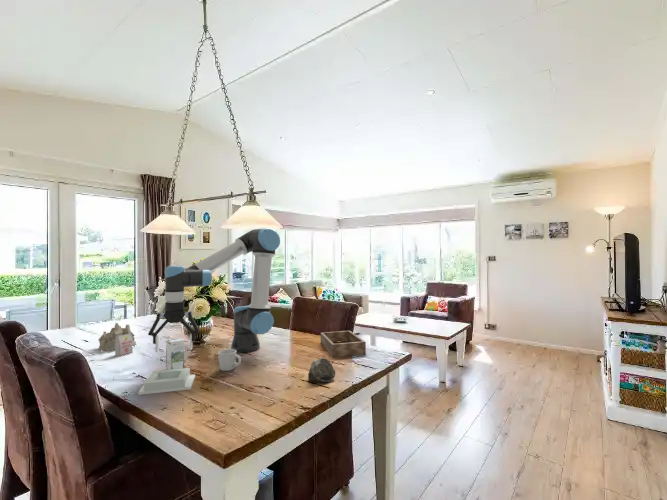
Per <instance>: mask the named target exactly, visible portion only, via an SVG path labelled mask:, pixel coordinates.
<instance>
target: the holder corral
mask: <svg viewBox="0 0 667 500" xmlns="http://www.w3.org/2000/svg"><path fill="white" fill-rule="evenodd" d="M337 341H345V342H338V343H333V342H337ZM320 344H321V345H322V346H324V347H325V348H324V347H323V348H324V349H325V350H326V352H328V354H329V355H330V356H331V357H333V358H334V357H343V356H345V357H346V356H354V355H355V356H356V355H366V354H367V351H366V350H367V349H366V347H367V346H366V341H365V340H364V339H362V338H361V337H359V336H358V335H357V334H356V333H354V332H353V331H351V330H342V331H341V330H340V331H327V332H326V331H325V332H320Z"/></svg>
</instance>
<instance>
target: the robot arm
mask: <svg viewBox="0 0 667 500" xmlns="http://www.w3.org/2000/svg"><path fill="white" fill-rule="evenodd" d="M280 245H281V238H280V234H279V233H278V232H277V231H276V230H275V229H274V228H270V227H263V228H256V229H251V230H249V231H247V232H246V233H244V234H242V235H241V236H239V237H237V238H236V239H235V240H234V241H233V242H232V243H231V244H229V245H227V246H225V247H223V248H221V249H219V250H218V251H216V252H214V253H213V254H210V255H208V256H207V257H205V258H203V259H201V260H199V261H198V262H196V263H194V264H192V265H191V266H189V267H187V268H185V266H184V265H169V266H166V267H165V273H164V274H165V276H164V280H165V282H164V285H165V288H164V289H165V290H164V291H165V292H164V301H165V303H164V313H163V312H157V313H156V319H155V320H154V322H153V324H152V326H151V328H150V329H149V331H148V334H147V335H148V336H151V337H152V344H153V345H155V353H158V352H159V351H160V335H158V334H159V333H160V332H161V331H162V330H163V328H164V327H165V326H166V325H167V324H168V323H170V324H178V323H180V324H181V325H183V326H184V328H185V329H186V330H187V331H188V332H189V333H190V334H189V350H190V351H192V349H193V343H194V342H195V340H196V334H199V332H200V328H199V327H198V325H197V322H196V321H195V319H194V317H193V312H192V311H187V312H186V311H185V301H184V300H185V288H190V287H193V288H194V287H206V286H210V285H211V284H212V281H213V275H212V273H213V272H214V271H216V270H218V269H219V268H221V267H223V266H224V265H226V264H228V263H230V262H231V261H233V260H235V259H236V258H238V257H240V256H242V255H244V256H245V255H247V254H249V253H251V252H252V255H253V256H254V263H253V264H254V266H253V277H252V285H251V286H252V287H251V288H252V289H251V298H250V304H248V305H244V306H243V305H242V306H236V307H235V308H234V309H233V330H234V331H233V338H232V341H231V344H230V349H234V350H236V351H237V353H248V352H254V351H257V350H259V349H260V347H261V345H260V344H261V343H260V341H259V337H258V335H264V334H267V333H269V331H270V330H271V329H272V327H273V325H274V323H275V320H274V316H273V315H272V313H271V308H272V307H271V306H270V304H269V296H270V295H269V293H270V283H271V272H272V271H271V269H272V260H273V259H272V258H273V257H274V256H275V255H276V250H277V249H278V248H279V247H280ZM185 316H186V317H187V318H188V320H189V321H190V323H191V325H192V326H191V325H190V324H189V323H188V322H187V321H186V319H184V317H185ZM163 317H164V319H165V320H164V321H163V322H162V324H161V325H160V326H159V327H158V329H156V328H157V326H158V324H159V322H160V320H161V319H162V318H163ZM154 331H155V332H154Z"/></svg>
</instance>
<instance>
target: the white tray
mask: <svg viewBox="0 0 667 500" xmlns="http://www.w3.org/2000/svg"><path fill="white" fill-rule="evenodd" d="M195 378H196V374H191V367H184V368H181V369H170V370H166V369H161V370H153V371H152V372H151V374H149V376H148V377H147V379H146V380H145V381H144V383H143V385H142V386H141V387H140V389H139V390H138V392H137V396H140V395H142V396H143V395H150V394H160V393H168V392H179V391H188V390H192V386H193V385H194V381H195Z"/></svg>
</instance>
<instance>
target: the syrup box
mask: <svg viewBox="0 0 667 500" xmlns="http://www.w3.org/2000/svg"><path fill="white" fill-rule="evenodd" d="M165 342H166V343H165V344H166V346H165V349H166V351H165V353H166V355H165V357H166V358H165V359H166V360H165V362H166V363H165V368H166V369H165V370H170V369H181V368H185V339H183V338H181V337H175V338H170V339H166V341H165Z"/></svg>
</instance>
